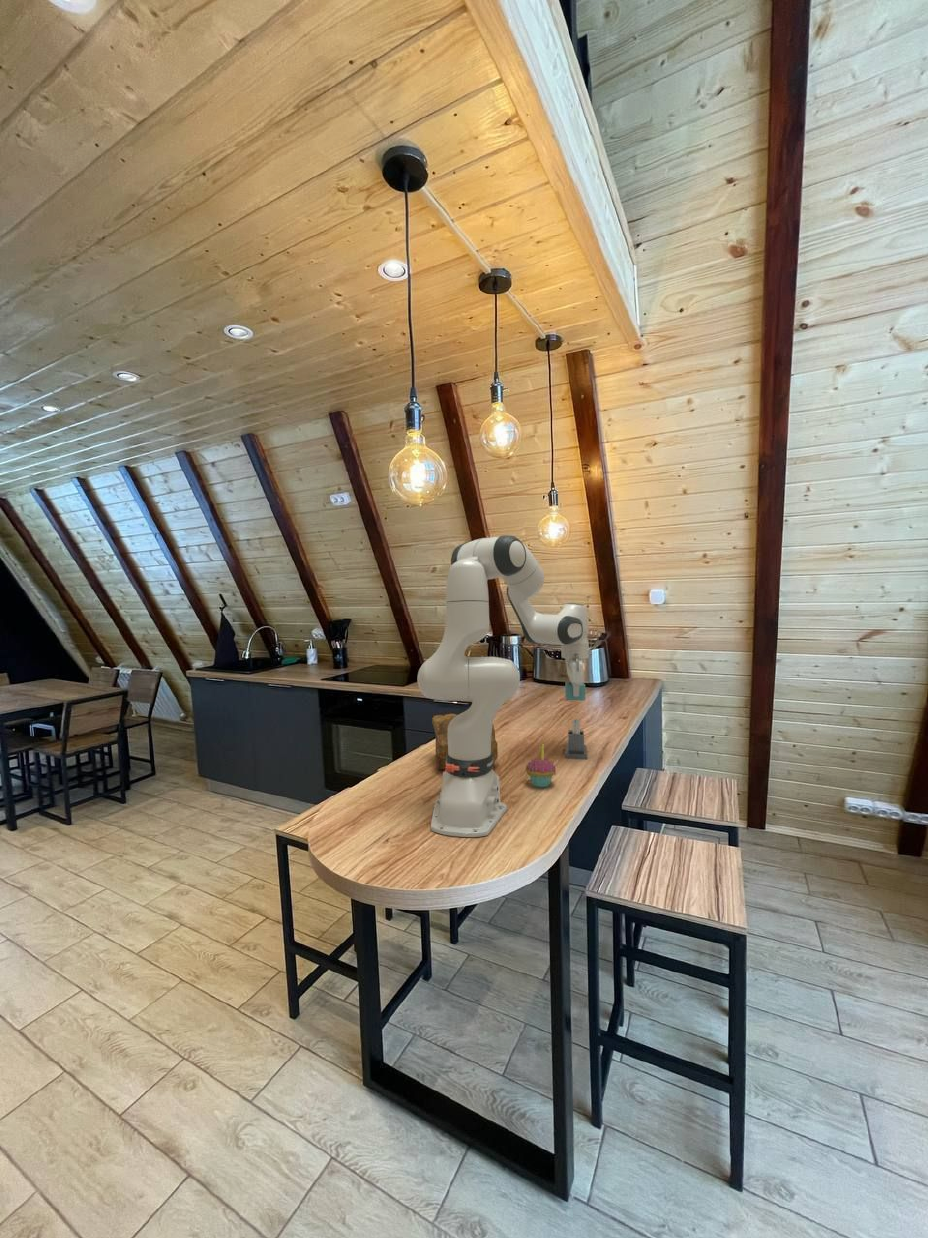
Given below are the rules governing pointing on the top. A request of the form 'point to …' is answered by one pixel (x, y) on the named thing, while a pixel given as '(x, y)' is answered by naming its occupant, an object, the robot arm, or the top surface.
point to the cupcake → (541, 771)
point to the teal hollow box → (570, 692)
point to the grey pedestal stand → (576, 742)
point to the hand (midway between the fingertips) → (575, 693)
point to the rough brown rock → (442, 739)
